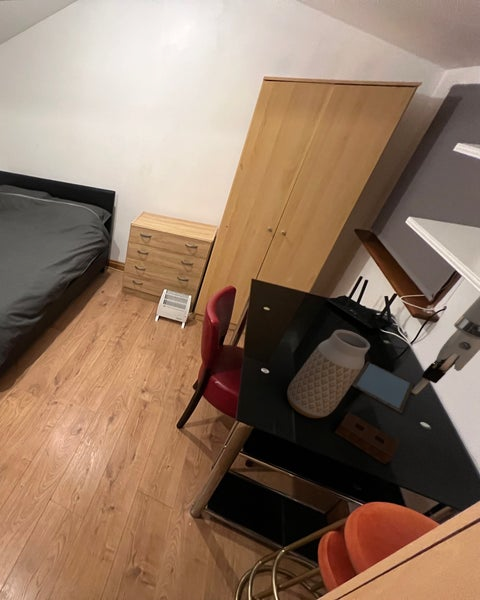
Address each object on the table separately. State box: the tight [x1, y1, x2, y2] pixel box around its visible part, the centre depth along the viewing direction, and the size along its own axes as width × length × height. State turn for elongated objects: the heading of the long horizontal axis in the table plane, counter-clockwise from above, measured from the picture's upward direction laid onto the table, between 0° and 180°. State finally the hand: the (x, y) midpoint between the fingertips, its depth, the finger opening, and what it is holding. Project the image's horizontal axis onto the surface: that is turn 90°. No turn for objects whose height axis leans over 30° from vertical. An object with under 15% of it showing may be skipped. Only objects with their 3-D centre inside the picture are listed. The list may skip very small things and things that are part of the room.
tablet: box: [351, 361, 414, 414], centre depth 123 cm, size 22×15×1 cm
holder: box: [334, 411, 400, 465], centre depth 101 cm, size 13×8×4 cm, turn 40°
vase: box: [286, 329, 371, 419], centre depth 103 cm, size 14×14×31 cm
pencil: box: [409, 363, 442, 397], centre depth 92 cm, size 1×1×13 cm
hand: (429, 377), depth 92 cm, fingers closed on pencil, 1 cm apart
